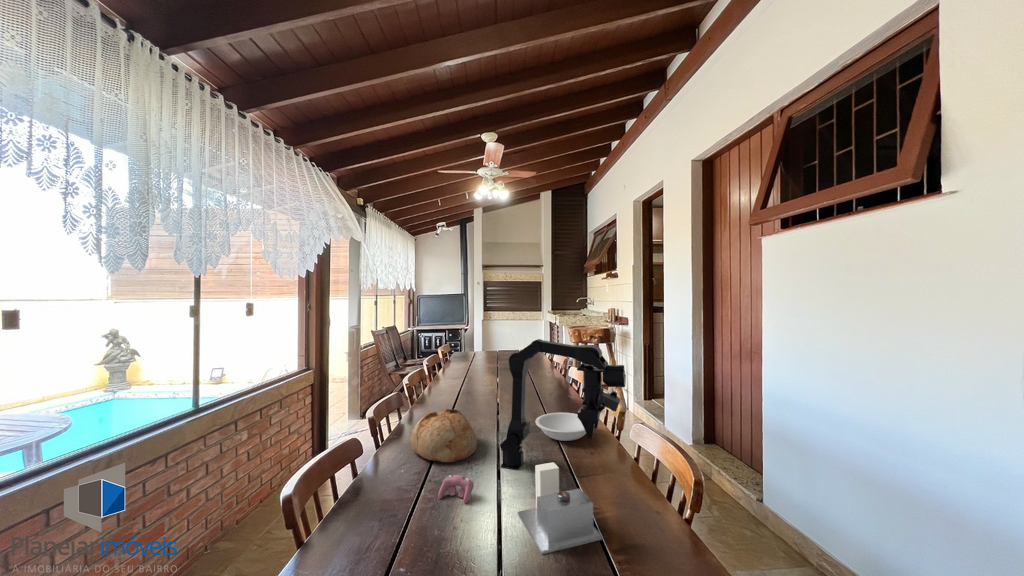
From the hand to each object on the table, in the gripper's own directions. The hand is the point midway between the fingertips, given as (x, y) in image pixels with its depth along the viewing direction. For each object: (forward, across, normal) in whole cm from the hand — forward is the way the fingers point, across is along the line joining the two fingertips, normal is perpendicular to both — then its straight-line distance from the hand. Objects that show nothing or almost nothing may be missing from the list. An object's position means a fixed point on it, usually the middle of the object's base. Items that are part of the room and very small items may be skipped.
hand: (593, 433), depth 121 cm
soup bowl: (+15, +31, +17) cm, 39 cm away
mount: (+15, -28, +4) cm, 32 cm away
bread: (+15, +2, +57) cm, 59 cm away
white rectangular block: (+14, -26, +7) cm, 30 cm away
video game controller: (+15, -25, +36) cm, 46 cm away
